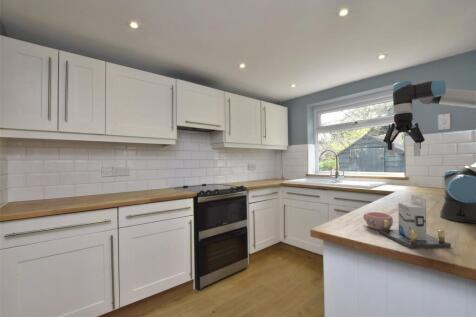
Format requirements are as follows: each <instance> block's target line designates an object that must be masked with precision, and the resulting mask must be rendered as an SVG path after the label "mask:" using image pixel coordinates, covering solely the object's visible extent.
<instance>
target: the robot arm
mask: <svg viewBox="0 0 476 317" xmlns="http://www.w3.org/2000/svg"><path fill="white" fill-rule="evenodd" d="M392 86H393V87H392V102H393V104H392V105H393V114H394V115H393V122H391V123H388V129H387V131H386V134H385V135H384V138H383V141H382V142H383V143H385V144H386V145H387V150H388V157H393V158H395V157H396V154H395V152H396V150H395V143H394V141H395V140H396V139H397V137H398V136H399V135H400V134H401V133H406V134H407V135H408V136H409V137H410V138H411V139H412V140H413V157H421V149H422V145H421V144H422V143H423V142H425V141H426V140H425V137H424V135H423V134H422V133H423V132H421V129H420V126H419V123H418V122H415V123H412V122H413V120H414V116H413V113H412V112H413V111H414V110H413V101H417V100H419V102H420V103H421V104H423V105H430V104H435V105H445V106H455V107H463V108H471V109H473V108H474V109H476V90H472V89H470V90H469V89H459V88H458V89H456V88H455V89H454V88H447V84H446V80H445V78H441V79H433V80H430V81H429V80H428V81H423V82H419V83H412V81H411V80H403V81H401V80H400V81H398V82H396V83H394V84H393V85H392ZM443 181H444V183H443V184H444V201H443V205H442V207H441V210H440V212H439V216H440V218H442V219H445V220H448V221H454V222H460V223H467V224H468V223H469V224H476V162H474V163H473V164H471V165H465V166H464V167H463V168H461V169H460V170H446V171H444V174H443Z"/></svg>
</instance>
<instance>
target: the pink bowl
mask: <svg viewBox="0 0 476 317" xmlns="http://www.w3.org/2000/svg"><path fill="white" fill-rule="evenodd" d="M362 216H363V219H364V221H365V223H366V225H367V227H369V228H371V229H374V230H377V231H379V230H384V220H387V221H389V230H391V228H392V226H393V223H394V220H393V216H392V215H391V214H388V213H385V212H377V211H376V212H374V211H368V212H366V213H364V214H363V215H362Z"/></svg>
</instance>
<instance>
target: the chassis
mask: <svg viewBox="0 0 476 317" xmlns="http://www.w3.org/2000/svg"><path fill="white" fill-rule="evenodd" d="M378 231H379V234H380V235H382V236H384V237H386V238H389V239H390V240H392V241H394V242H396V243H397V244H401V245H403V246H404V247H406V248H409V249H432V248H433V249H437V248H438V249H439V248H440V249H441V248H451V247H452V246H451V245H452V243H451V242H447V241H446V240H445V239H446V238H445V237H446V236H445V234H446V232H445V231H444V230H442V229H441V230H440V229H438V230H437V236H438V237H434V236H432V235H430V234H427V233H426V240H417V232H416V231H411V239H410V238H408V237H406V236H405V235H403V234H401V233H400V232H399V229H389V221H387V220H384V230H378Z"/></svg>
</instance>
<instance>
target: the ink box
mask: <svg viewBox="0 0 476 317" xmlns="http://www.w3.org/2000/svg"><path fill="white" fill-rule="evenodd" d="M410 197H411V198H410V200H411V202H406V201H405V202H404V201H402V202H401V201H399V202H398V203H397V204H398V205H397V206H398V211H397V212H398V230H399V232H400V233H401V234H403V235H405V236H406V237H408V238H410V239H411V231H416V232H417V240H426V234H427V200H426V199H427V198H425V197H423V196H422V197H421V196H418V195H415V194H411V195H410Z"/></svg>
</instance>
